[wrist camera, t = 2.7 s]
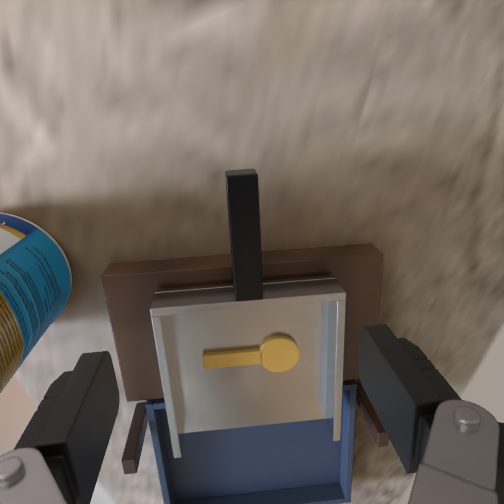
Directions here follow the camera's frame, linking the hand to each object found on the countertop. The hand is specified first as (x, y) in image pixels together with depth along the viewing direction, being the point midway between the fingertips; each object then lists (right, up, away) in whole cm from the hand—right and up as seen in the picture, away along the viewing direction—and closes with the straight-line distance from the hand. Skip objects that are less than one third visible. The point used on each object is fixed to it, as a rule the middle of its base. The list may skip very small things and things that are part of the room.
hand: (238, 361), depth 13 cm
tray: (+1, -11, +19) cm, 22 cm away
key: (0, -3, +13) cm, 13 cm away
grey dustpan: (0, 0, +12) cm, 12 cm away
